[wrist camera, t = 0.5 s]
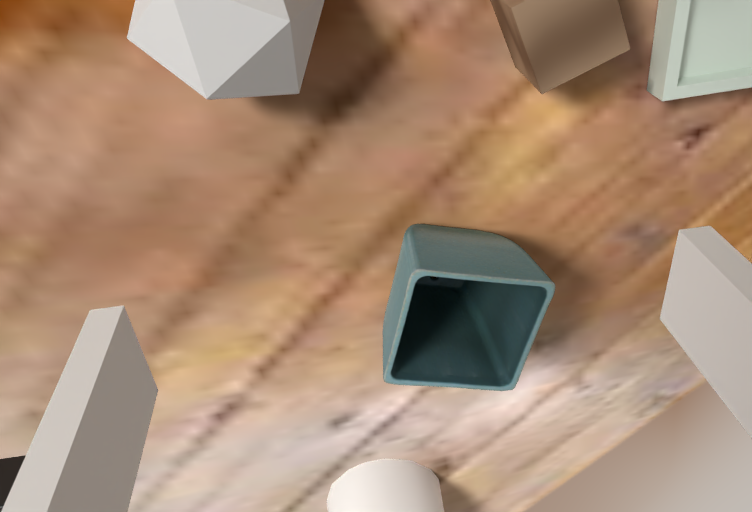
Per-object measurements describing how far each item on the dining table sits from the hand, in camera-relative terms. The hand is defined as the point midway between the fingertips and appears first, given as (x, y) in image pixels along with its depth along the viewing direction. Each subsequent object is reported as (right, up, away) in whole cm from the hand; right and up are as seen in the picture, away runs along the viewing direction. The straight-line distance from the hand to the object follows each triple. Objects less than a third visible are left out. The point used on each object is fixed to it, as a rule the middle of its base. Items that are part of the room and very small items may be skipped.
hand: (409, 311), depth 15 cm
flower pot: (+4, +2, +30) cm, 30 cm away
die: (-8, +15, +19) cm, 26 cm away
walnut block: (+9, +16, +21) cm, 28 cm away
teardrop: (0, -22, +45) cm, 50 cm away
